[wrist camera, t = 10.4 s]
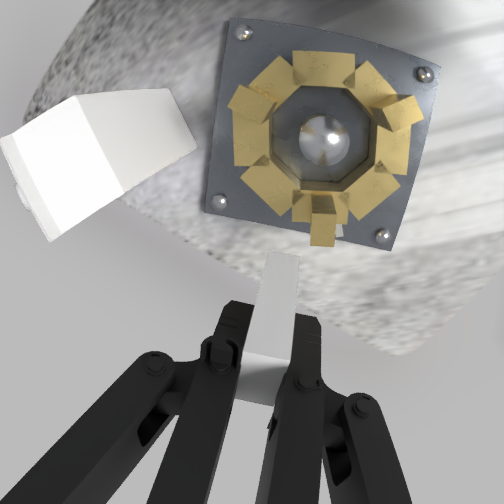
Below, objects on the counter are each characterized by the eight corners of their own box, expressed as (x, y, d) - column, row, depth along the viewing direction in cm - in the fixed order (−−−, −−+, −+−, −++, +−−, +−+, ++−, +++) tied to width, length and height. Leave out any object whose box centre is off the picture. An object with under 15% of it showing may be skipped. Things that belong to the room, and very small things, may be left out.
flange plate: (232, 19, 24) (218, 6, 19) (436, 66, 23) (461, 64, 18) (207, 208, 34) (190, 229, 29) (388, 247, 33) (400, 273, 28)
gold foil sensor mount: (242, 208, 32) (224, 243, 25) (237, 56, 25) (214, 43, 18) (391, 215, 30) (414, 253, 23) (402, 64, 23) (435, 57, 16)
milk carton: (168, 87, 28) (29, 102, 12) (199, 147, 31) (86, 219, 14) (116, 121, 31) (-24, 168, 14) (145, 176, 33) (24, 261, 17)
